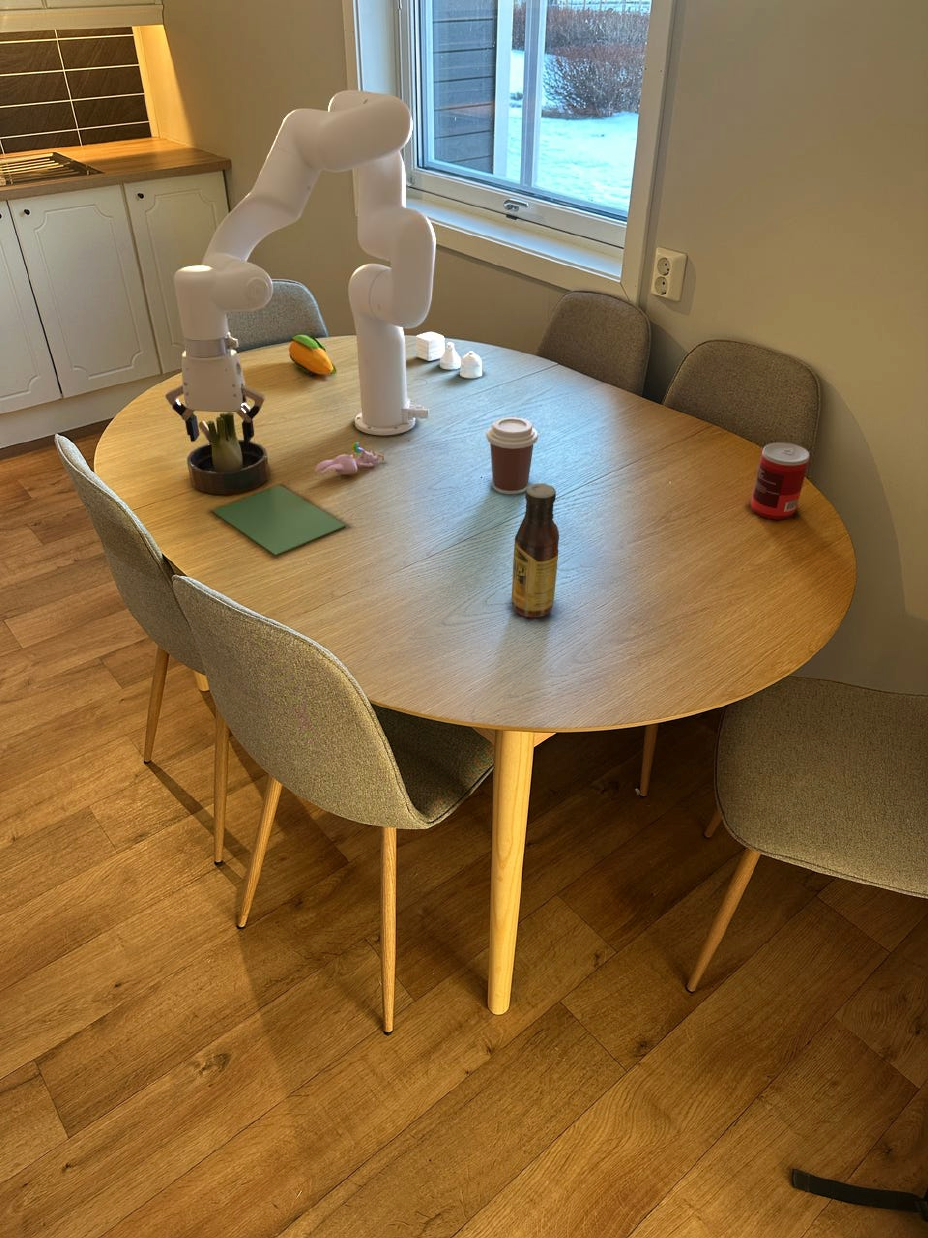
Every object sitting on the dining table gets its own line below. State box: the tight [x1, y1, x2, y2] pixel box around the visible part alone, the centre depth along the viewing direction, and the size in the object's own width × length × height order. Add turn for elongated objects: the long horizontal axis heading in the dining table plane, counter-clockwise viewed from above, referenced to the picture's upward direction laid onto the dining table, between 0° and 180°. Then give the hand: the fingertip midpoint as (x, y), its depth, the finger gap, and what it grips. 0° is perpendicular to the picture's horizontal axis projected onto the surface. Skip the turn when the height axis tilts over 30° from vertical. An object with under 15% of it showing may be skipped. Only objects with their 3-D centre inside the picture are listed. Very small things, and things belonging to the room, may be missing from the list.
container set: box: [415, 331, 483, 379], centre depth 209 cm, size 20×5×6 cm, turn 42°
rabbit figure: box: [314, 441, 386, 476], centre depth 163 cm, size 6×6×15 cm
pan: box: [186, 439, 271, 496], centre depth 161 cm, size 14×14×4 cm
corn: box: [288, 334, 338, 375], centre depth 206 cm, size 7×8×20 cm
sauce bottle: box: [511, 482, 560, 619], centre depth 123 cm, size 7×6×20 cm
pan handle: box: [198, 420, 211, 444], centre depth 170 cm, size 12×2×2 cm, turn 28°
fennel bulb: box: [207, 412, 244, 472], centre depth 159 cm, size 6×5×12 cm
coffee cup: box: [485, 416, 539, 495], centre depth 157 cm, size 9×9×12 cm
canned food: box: [750, 441, 811, 520], centre depth 150 cm, size 8×8×11 cm
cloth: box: [211, 484, 347, 557], centre depth 150 cm, size 20×14×1 cm
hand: (221, 439), depth 158 cm, fingers open, 9 cm apart
